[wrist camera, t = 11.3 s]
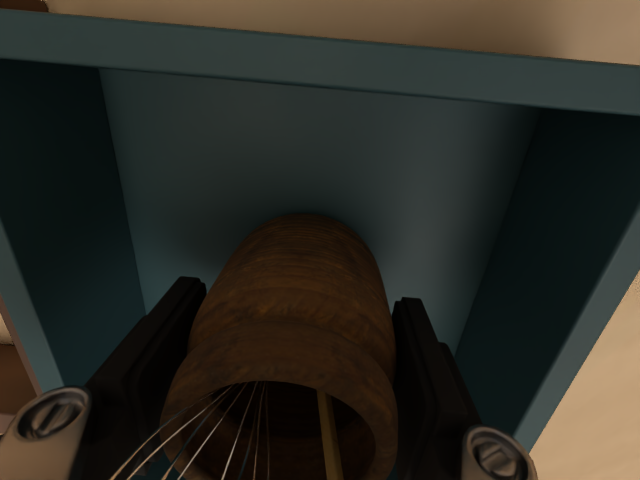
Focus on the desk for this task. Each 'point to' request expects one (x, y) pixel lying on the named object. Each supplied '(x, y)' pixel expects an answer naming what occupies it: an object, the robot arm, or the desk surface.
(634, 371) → the desk surface
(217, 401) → the utensil holder
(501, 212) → the teal square tray
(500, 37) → the desk surface
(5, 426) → the brown wooden square frame
